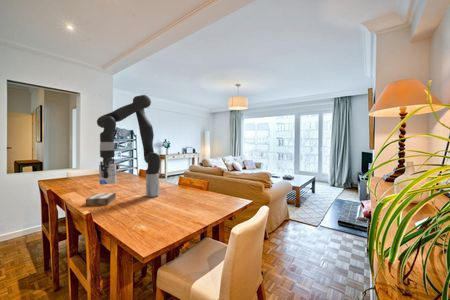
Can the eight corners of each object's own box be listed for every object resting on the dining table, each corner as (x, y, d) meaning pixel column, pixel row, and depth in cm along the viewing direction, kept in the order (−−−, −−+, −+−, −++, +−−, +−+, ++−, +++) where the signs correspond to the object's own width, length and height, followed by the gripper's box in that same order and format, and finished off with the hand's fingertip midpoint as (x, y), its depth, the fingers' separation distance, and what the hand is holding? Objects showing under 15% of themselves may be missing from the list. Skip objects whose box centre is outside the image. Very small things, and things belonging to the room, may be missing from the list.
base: (115, 198, 137) (115, 192, 137) (107, 204, 124) (107, 198, 124) (96, 199, 135) (95, 193, 135) (85, 205, 122) (85, 199, 122)
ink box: (99, 185, 112) (98, 165, 111) (100, 183, 116) (100, 164, 116) (115, 183, 115) (115, 164, 114) (116, 181, 120) (116, 163, 119)
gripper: (108, 150, 108) (109, 179, 109) (118, 148, 122) (119, 174, 123) (94, 150, 107) (95, 179, 108) (105, 148, 121) (106, 174, 122)
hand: (108, 176), depth 115 cm, fingers closed on ink box, 5 cm apart
